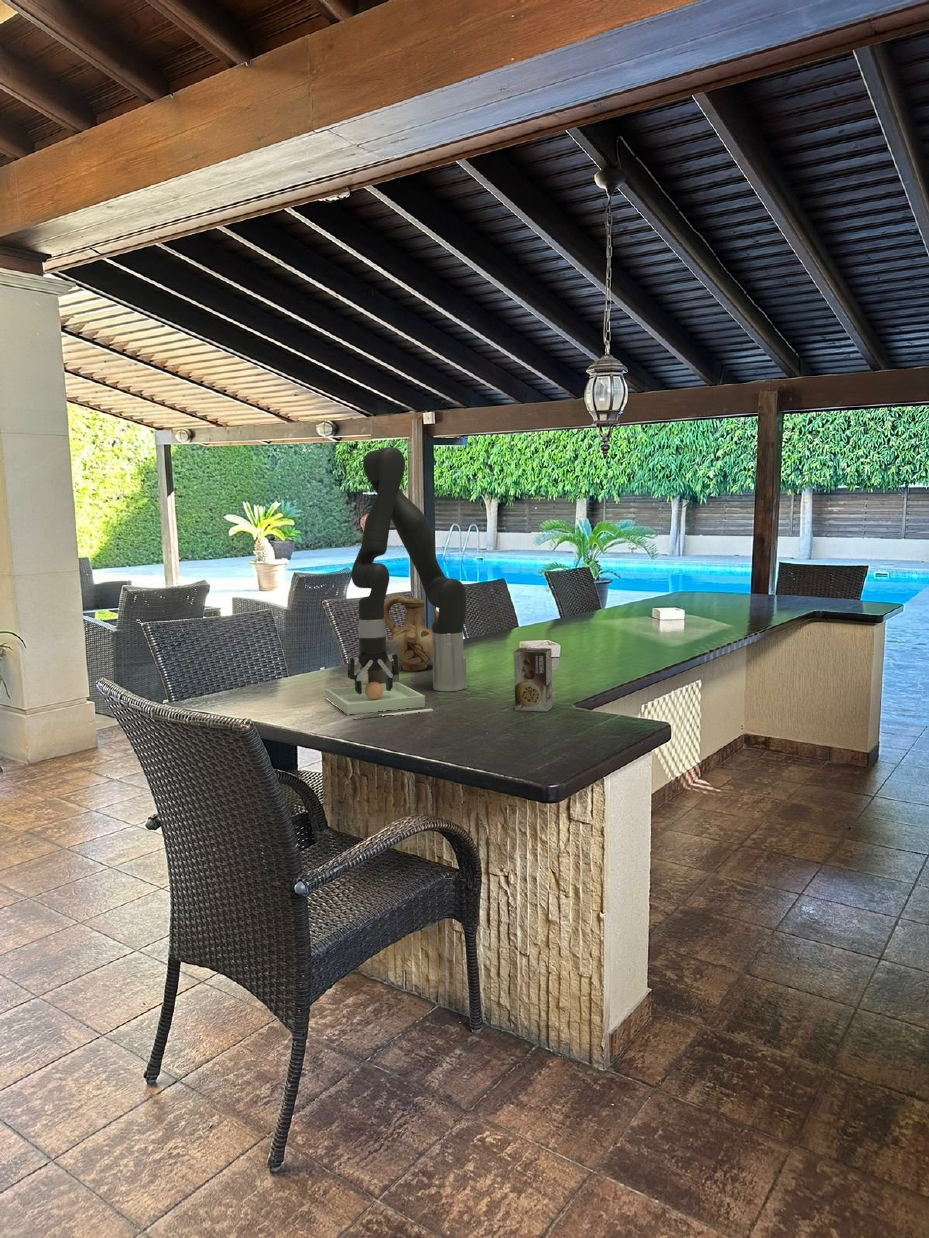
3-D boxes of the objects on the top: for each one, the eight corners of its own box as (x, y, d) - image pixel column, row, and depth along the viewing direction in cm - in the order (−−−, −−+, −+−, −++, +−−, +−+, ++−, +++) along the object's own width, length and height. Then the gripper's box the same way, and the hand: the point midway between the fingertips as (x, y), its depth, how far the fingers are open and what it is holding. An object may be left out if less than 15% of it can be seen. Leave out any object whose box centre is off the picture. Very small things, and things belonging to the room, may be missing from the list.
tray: (398, 691, 261) (397, 681, 260) (425, 706, 241) (424, 695, 240) (325, 699, 252) (325, 689, 252) (347, 715, 232) (347, 704, 232)
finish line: (430, 709, 237) (430, 708, 237) (433, 710, 235) (433, 709, 235) (352, 718, 228) (352, 717, 228) (353, 720, 227) (353, 719, 227)
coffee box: (553, 706, 238) (552, 648, 236) (547, 712, 232) (546, 651, 230) (520, 705, 241) (519, 646, 239) (513, 710, 235) (513, 650, 233)
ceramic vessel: (412, 676, 285) (410, 599, 282) (373, 669, 298) (371, 595, 295) (451, 668, 298) (450, 594, 295) (412, 662, 311) (411, 591, 308)
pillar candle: (362, 688, 267) (361, 639, 265) (377, 682, 276) (376, 634, 274) (390, 690, 263) (390, 641, 261) (405, 684, 272) (404, 636, 270)
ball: (379, 696, 250) (379, 679, 249) (385, 700, 245) (385, 682, 244) (363, 698, 248) (362, 681, 247) (368, 702, 243) (367, 684, 242)
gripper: (392, 631, 250) (393, 687, 252) (343, 635, 244) (345, 692, 246) (401, 634, 243) (402, 692, 245) (351, 638, 238) (353, 697, 240)
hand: (374, 692), depth 246 cm, fingers open, 8 cm apart
